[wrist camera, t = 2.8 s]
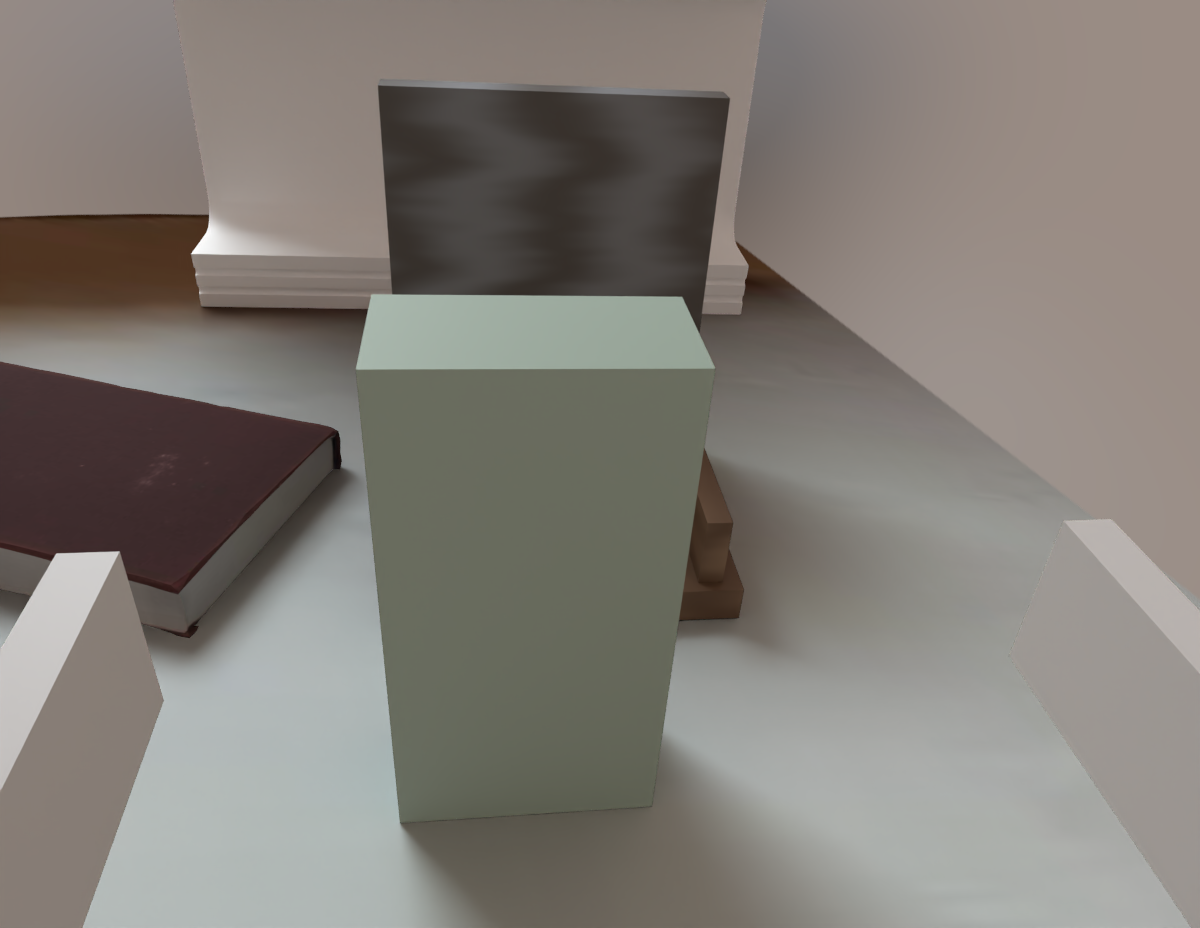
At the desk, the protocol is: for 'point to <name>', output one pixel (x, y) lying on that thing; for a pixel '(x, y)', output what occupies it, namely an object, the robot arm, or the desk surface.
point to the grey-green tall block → (529, 541)
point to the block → (353, 133)
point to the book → (146, 486)
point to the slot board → (563, 219)
